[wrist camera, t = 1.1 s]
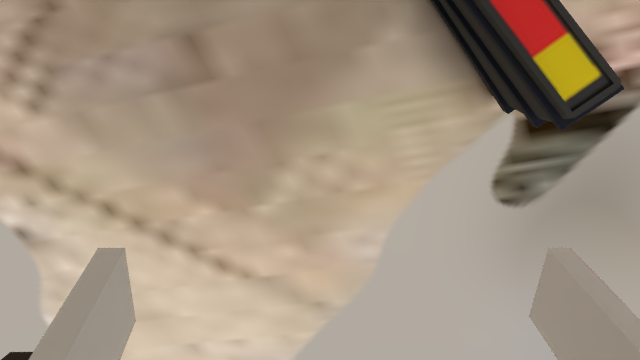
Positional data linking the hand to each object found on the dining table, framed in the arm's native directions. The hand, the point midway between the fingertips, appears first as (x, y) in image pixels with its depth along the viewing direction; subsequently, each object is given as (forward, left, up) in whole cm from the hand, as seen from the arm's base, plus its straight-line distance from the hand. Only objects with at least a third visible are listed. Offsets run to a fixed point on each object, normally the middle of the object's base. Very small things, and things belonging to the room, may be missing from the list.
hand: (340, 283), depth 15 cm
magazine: (-6, +12, -27) cm, 30 cm away
